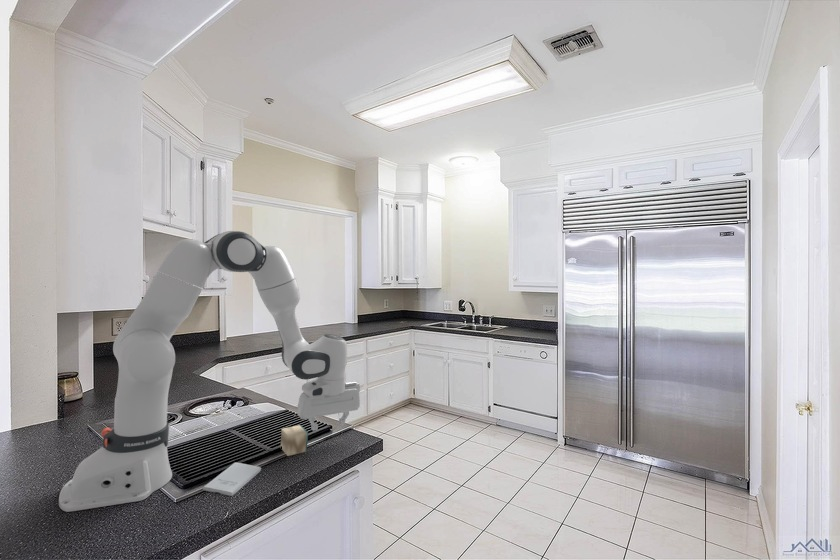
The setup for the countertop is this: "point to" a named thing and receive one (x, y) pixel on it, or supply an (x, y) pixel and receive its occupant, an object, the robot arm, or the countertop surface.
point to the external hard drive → (232, 479)
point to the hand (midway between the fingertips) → (328, 427)
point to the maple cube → (294, 440)
